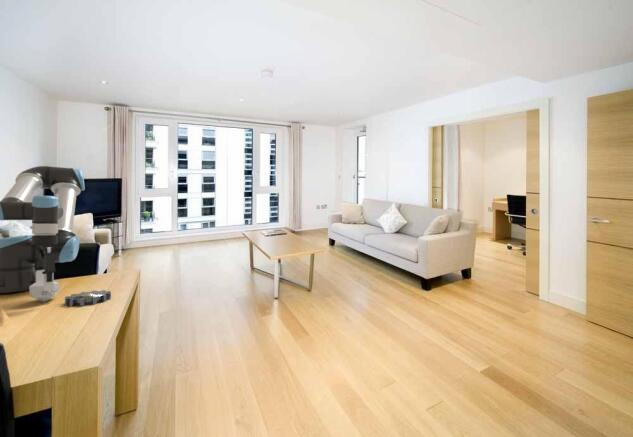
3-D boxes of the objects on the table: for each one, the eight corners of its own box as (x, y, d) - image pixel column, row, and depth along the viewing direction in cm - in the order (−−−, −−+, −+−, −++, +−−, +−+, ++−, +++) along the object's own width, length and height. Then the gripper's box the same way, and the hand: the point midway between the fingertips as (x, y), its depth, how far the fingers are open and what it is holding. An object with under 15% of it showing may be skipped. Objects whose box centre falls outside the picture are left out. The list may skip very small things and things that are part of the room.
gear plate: (60, 302, 113) (60, 295, 113) (103, 294, 125) (103, 288, 125) (70, 308, 104) (70, 302, 104) (116, 299, 116) (116, 293, 116)
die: (41, 306, 107) (41, 279, 108) (22, 304, 109) (23, 278, 109) (65, 300, 116) (65, 275, 116) (47, 298, 118) (47, 274, 118)
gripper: (25, 234, 117) (24, 286, 117) (39, 235, 102) (38, 294, 102) (50, 234, 123) (49, 282, 123) (66, 234, 108) (65, 290, 108)
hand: (44, 288), depth 112 cm, fingers open, 13 cm apart
